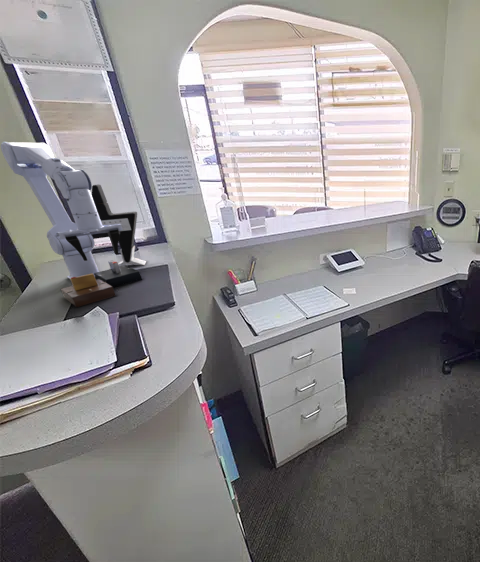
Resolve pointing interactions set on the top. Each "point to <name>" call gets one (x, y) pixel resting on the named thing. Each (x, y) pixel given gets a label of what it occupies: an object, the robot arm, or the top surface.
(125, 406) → the top surface
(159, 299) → the top surface
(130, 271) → the back plate
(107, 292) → the brown wooden base
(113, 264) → the block
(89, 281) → the block
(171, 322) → the top surface
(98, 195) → the award
